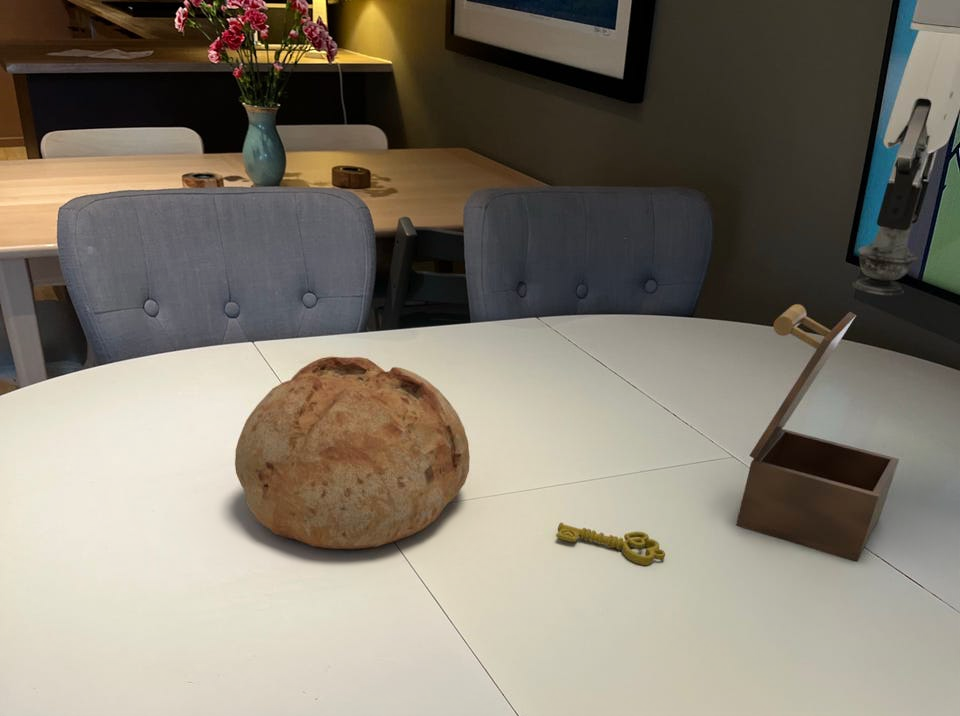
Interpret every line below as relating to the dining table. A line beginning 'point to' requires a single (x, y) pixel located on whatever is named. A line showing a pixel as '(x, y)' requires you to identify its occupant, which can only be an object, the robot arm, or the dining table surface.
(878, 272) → the salt shaker
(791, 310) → the lid
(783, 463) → the box
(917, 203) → the robot arm
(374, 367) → the bread
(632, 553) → the key
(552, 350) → the dining table surface
